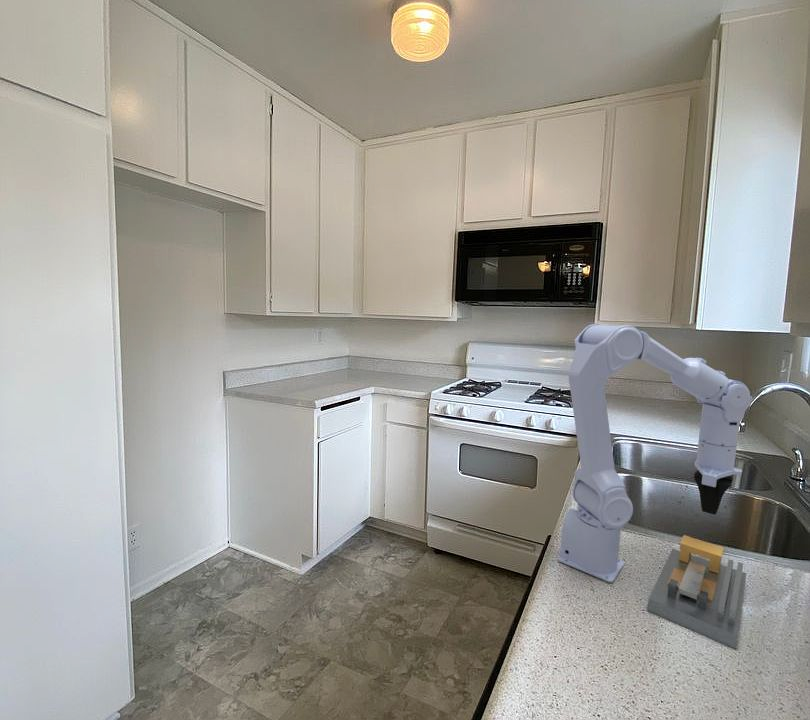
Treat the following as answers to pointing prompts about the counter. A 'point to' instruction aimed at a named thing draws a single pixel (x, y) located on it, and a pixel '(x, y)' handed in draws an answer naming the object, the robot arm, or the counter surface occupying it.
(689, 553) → the clip
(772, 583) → the counter surface
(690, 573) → the strap
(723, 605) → the grey fixture base plate
